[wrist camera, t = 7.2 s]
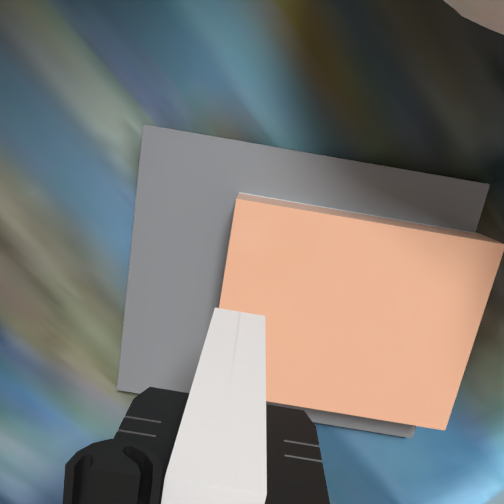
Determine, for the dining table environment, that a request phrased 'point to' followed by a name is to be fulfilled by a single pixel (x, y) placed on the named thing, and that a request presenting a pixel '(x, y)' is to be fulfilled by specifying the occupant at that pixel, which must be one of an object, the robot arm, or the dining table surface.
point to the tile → (359, 306)
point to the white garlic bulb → (481, 12)
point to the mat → (219, 230)
